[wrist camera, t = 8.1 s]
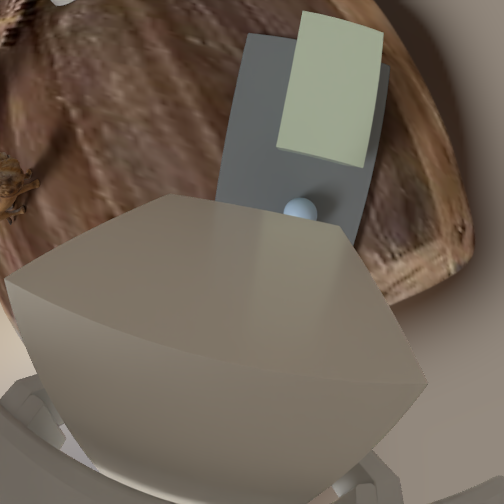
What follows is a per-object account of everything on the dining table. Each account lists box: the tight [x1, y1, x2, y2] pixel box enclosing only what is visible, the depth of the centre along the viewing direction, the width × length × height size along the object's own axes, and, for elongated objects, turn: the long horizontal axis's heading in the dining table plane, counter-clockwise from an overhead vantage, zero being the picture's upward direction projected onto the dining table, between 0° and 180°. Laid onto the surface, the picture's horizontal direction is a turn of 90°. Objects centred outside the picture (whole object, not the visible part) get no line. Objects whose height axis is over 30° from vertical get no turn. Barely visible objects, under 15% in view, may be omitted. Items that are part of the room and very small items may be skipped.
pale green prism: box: [276, 11, 384, 168], centre depth 18 cm, size 11×6×7 cm, turn 169°
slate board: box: [215, 33, 390, 246], centre depth 24 cm, size 26×14×1 cm, turn 169°
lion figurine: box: [0, 152, 40, 225], centre depth 25 cm, size 15×5×9 cm, turn 132°
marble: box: [284, 197, 317, 221], centre depth 24 cm, size 3×3×3 cm
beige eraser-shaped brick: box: [4, 194, 428, 504], centre depth 8 cm, size 11×6×7 cm, turn 170°
